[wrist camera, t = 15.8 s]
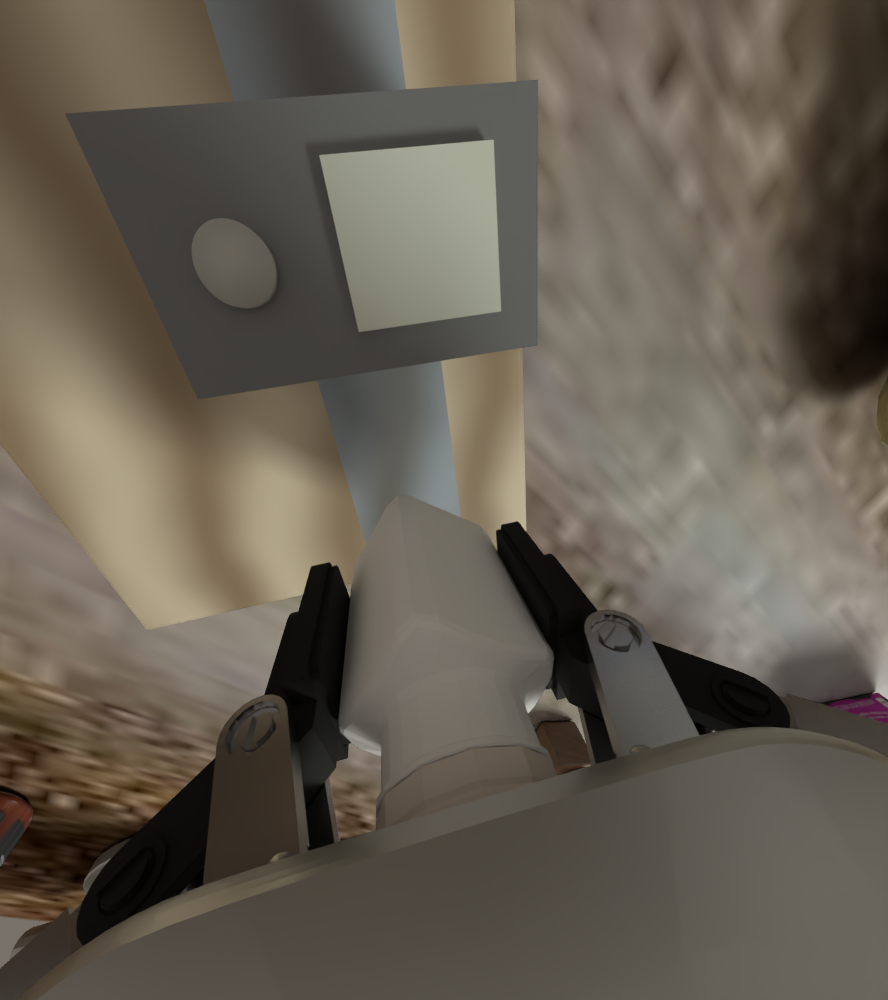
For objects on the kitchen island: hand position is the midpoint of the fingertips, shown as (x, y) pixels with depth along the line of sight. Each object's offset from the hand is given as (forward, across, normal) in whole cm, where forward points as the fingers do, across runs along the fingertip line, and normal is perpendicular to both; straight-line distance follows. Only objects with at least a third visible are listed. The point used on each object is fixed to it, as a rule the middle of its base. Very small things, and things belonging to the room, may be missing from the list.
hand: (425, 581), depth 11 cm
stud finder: (+6, 0, -9) cm, 11 cm away
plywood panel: (+7, +4, -6) cm, 10 cm away
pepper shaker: (+2, 0, 0) cm, 2 cm away
